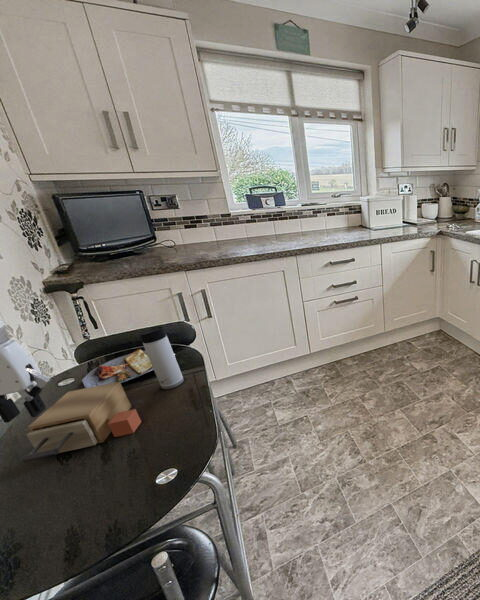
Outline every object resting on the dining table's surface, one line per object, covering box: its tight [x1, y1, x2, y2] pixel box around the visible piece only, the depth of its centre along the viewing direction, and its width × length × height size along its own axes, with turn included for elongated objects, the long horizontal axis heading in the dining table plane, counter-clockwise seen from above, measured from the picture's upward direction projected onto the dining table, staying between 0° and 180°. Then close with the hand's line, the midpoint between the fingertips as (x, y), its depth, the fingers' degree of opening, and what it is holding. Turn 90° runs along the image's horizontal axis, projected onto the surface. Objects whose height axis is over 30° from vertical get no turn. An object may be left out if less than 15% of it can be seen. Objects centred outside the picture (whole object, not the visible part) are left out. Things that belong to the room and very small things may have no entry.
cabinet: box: [27, 382, 132, 445], centre depth 87 cm, size 15×13×9 cm
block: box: [108, 408, 142, 438], centre depth 86 cm, size 4×4×4 cm
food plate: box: [81, 348, 154, 389], centre depth 115 cm, size 25×23×4 cm
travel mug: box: [139, 326, 185, 390], centre depth 102 cm, size 6×7×20 cm
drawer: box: [20, 418, 98, 463], centre depth 82 cm, size 20×11×7 cm, turn 15°
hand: (25, 414), depth 71 cm, fingers open, 4 cm apart
